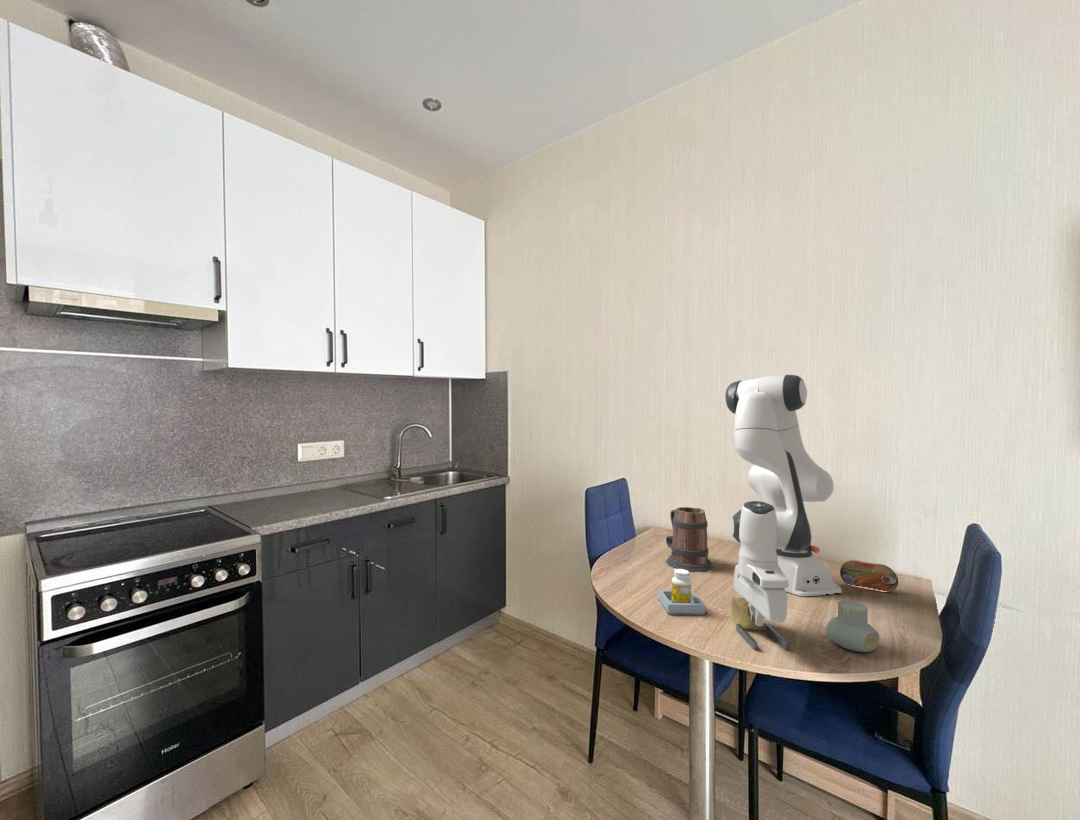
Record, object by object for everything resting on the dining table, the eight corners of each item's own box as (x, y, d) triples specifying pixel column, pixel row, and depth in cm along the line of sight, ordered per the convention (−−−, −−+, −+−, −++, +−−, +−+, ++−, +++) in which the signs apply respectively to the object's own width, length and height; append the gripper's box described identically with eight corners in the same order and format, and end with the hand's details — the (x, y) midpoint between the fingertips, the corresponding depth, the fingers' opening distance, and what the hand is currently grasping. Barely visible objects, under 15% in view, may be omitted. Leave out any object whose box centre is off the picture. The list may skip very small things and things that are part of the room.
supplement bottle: (693, 609, 127) (694, 574, 127) (674, 608, 127) (674, 574, 127) (687, 601, 133) (688, 568, 133) (669, 600, 133) (669, 567, 133)
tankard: (724, 570, 161) (725, 513, 161) (680, 574, 157) (681, 515, 157) (687, 550, 183) (688, 500, 183) (648, 552, 179) (649, 501, 179)
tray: (692, 600, 135) (692, 590, 135) (704, 616, 125) (704, 605, 125) (658, 600, 135) (658, 589, 135) (668, 615, 125) (668, 604, 125)
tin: (839, 584, 149) (840, 559, 149) (839, 581, 152) (840, 556, 152) (898, 595, 141) (898, 568, 141) (897, 592, 144) (897, 565, 144)
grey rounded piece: (846, 633, 116) (847, 594, 116) (883, 648, 109) (884, 606, 109) (821, 643, 111) (821, 602, 111) (857, 660, 104) (858, 616, 104)
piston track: (757, 617, 125) (757, 610, 125) (793, 651, 107) (793, 643, 107) (719, 616, 125) (719, 609, 125) (749, 651, 107) (749, 642, 107)
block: (753, 620, 122) (753, 597, 122) (762, 629, 117) (763, 606, 117) (731, 620, 122) (731, 597, 122) (739, 629, 117) (739, 605, 117)
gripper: (727, 554, 125) (727, 605, 125) (765, 583, 104) (764, 644, 104) (750, 555, 125) (750, 605, 125) (793, 583, 104) (792, 644, 105)
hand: (757, 623), depth 115 cm, fingers closed
